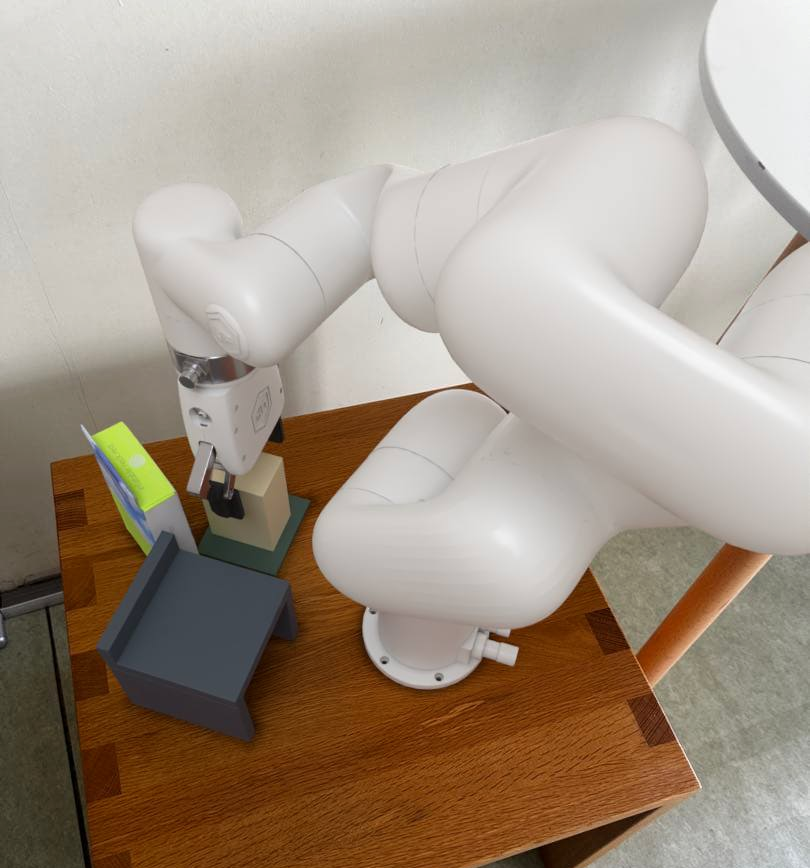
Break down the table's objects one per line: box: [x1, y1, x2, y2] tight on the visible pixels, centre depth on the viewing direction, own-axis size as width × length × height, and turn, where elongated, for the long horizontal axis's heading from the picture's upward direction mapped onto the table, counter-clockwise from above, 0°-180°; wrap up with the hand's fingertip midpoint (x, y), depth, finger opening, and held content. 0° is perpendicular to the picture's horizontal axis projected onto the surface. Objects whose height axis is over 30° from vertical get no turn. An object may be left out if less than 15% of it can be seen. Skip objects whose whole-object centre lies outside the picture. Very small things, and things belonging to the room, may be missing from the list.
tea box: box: [201, 451, 291, 551], centre depth 85 cm, size 5×7×10 cm
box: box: [79, 420, 200, 557], centre depth 80 cm, size 10×4×17 cm, turn 39°
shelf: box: [95, 530, 299, 743], centre depth 75 cm, size 12×12×12 cm
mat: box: [197, 493, 311, 578], centre depth 89 cm, size 9×10×1 cm
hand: (249, 475), depth 81 cm, fingers open, 9 cm apart
